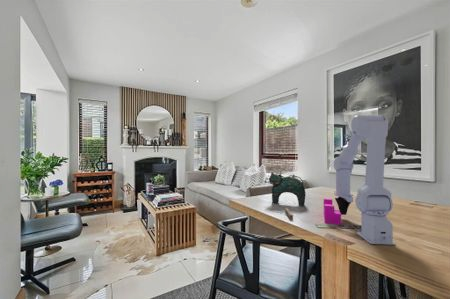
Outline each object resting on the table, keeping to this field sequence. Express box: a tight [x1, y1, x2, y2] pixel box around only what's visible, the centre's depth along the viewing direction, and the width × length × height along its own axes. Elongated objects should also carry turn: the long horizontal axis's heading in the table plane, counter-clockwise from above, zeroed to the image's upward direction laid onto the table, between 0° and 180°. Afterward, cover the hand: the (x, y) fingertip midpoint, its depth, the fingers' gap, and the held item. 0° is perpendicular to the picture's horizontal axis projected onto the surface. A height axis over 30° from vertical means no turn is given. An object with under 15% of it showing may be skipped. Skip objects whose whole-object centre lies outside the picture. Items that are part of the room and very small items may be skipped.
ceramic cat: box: [268, 168, 306, 207], centre depth 126 cm, size 20×6×20 cm, turn 67°
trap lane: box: [284, 207, 362, 230], centre depth 98 cm, size 21×29×2 cm
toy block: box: [323, 198, 342, 225], centre depth 100 cm, size 15×6×8 cm, turn 157°
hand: (343, 214), depth 100 cm, fingers closed
